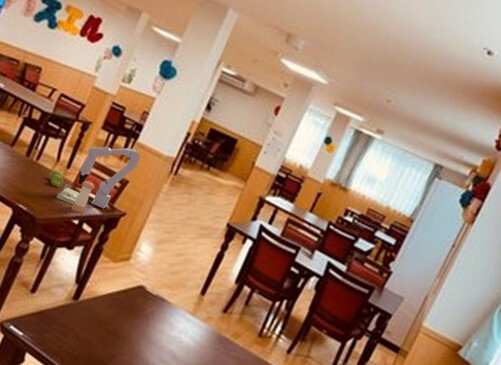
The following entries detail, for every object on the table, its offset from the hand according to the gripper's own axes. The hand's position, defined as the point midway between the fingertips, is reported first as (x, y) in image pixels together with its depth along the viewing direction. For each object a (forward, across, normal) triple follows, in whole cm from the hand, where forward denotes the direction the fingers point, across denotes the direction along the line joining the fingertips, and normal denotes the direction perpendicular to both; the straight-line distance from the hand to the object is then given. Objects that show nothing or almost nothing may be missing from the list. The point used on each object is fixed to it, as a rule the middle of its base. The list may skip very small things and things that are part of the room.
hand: (80, 183), depth 335 cm
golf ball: (+7, +12, +1) cm, 14 cm away
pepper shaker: (+10, +26, +8) cm, 29 cm away
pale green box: (+9, +7, 0) cm, 12 cm away
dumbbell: (+10, -13, -17) cm, 23 cm away
